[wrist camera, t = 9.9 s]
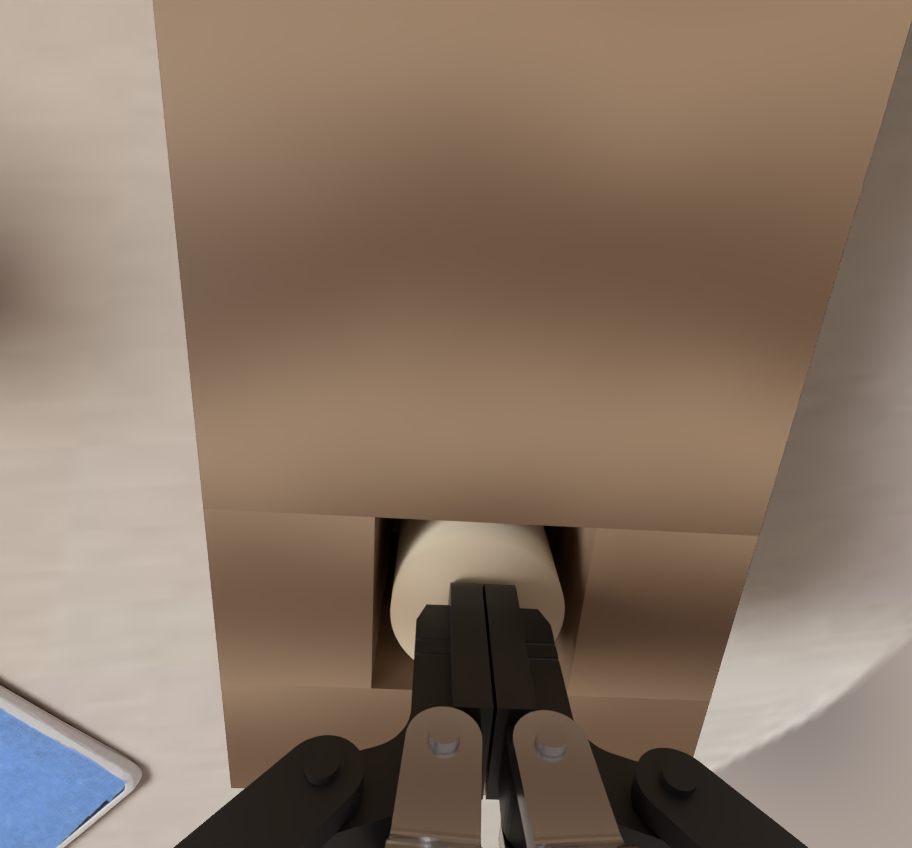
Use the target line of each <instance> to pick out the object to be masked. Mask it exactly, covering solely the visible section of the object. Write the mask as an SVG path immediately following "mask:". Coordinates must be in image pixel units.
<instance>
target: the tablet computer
mask: <svg viewBox="0 0 912 848" xmlns="http://www.w3.org/2000/svg"><path fill="white" fill-rule="evenodd" d="M142 775H143V773H142V770H141V768H140V767H139V766H138V764H136V763H135V762H134V761H133V760H131V759H129V758H128V757H126V756H124V755H123V754H121V753H119V752H117V751H116V750H114V749H112V748H110V747H108V746H107V745H105V744H103V743H101V742H99V741H97V740H96V739H94V738H92V737H90V736H88V735H87V734H85V733H83V732H81V731H79V730H77V729H76V728H74V727H72V726H70V725H68V724H67V723H65V722H63V721H61V720H60V719H58V718H56V717H54V716H53V715H51V714H49V713H47V712H46V711H44V710H42V709H41V708H39V707H37V706H35V705H34V704H32V703H30V702H29V701H27V700H25V699H23V698H22V697H20V696H18V695H17V694H15V693H13V692H11V691H10V690H8V689H6V688H4V687H3V686H1V685H0V848H64V847H65V846H67V845H68V844H69V843H70V842H71V841H73V840H74V839H75V838H76V837H78V836H79V835H80V834H81V833H83V832H84V831H85V830H86V829H87V828H88V827H90V826H91V825H92V824H93V823H95V822H96V821H97V820H98V819H99V818H100V817H102V816H103V815H104V814H105V813H107V812H108V811H109V810H110V809H111V808H112V807H114V806H115V805H116V804H117V803H118V802H120V801H121V800H122V799H123V798H125V797H126V796H127V795H128V794H129V793H130V792H132V791H133V790H134V789H135V787H136V785H137V784H138V783H139V781H140V780H141V778H142Z"/></svg>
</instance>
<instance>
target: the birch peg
mask: <svg viewBox="0 0 912 848" xmlns="http://www.w3.org/2000/svg"><path fill="white" fill-rule="evenodd" d="M450 582H452V583H474V584H482V589H483V584H500V585H515V586H516V590H517V595H518V601H519V607H520V608H528V609H538V610H539V611H540V612H541V613H542V615H543V616H544V617H545V618H546V620H547V621H548V622H549V623H550V625H551V628H552V632H553V636H554V641H555V640H556V638H557V636H558V634H559V632H560V630H561V627H562V624H563V620H564V612H565V604H564V597H563V593H562V589H561V585H560V582H559V578H558V575H557V571H556V568H555V564H554V560H553V557H552V553H551V550H550V546H549V543H548V539H547V536H546V532H545V529H544V525H524V524H504V523H483V522H462V521H442V520H421V519H401V525H400V533H399V541H398V549H397V558H396V566H395V574H394V583H393V591H392V599H391V608H390V616H391V623H392V628H393V631H394V634H395V636H396V638H397V640H398V642H399V644H400V645H401V647H402V648H403V649H404V650H405V652H406V653H407V654H408V655H409V656H410V657H411V658H412V659H413V660H414V651H415V634H416V619H417V618H418V616H419V615H420V613H421V612H422V610H423V609H424V607H425V606H426V604H431V605H448V601H449V588H450Z"/></svg>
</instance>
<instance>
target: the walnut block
mask: <svg viewBox="0 0 912 848" xmlns="http://www.w3.org/2000/svg"><path fill="white" fill-rule="evenodd" d="M153 8H154V18H155V28H156V39H157V49H158V59H159V69H160V79H161V89H162V99H163V109H164V119H165V129H166V139H167V149H168V159H169V169H170V179H171V189H172V199H173V209H174V219H175V229H176V239H177V249H178V259H179V269H180V279H181V289H182V299H183V309H184V319H185V329H186V339H187V349H188V359H189V369H190V379H191V389H192V399H193V409H194V419H195V429H196V440H197V450H198V460H199V470H200V480H201V490H202V500H203V510H204V520H205V530H206V540H207V550H208V560H209V570H210V580H211V590H212V600H213V610H214V620H215V630H216V640H217V650H218V660H219V670H220V680H221V690H222V700H223V710H224V720H225V730H226V740H227V750H228V760H229V770H230V780H231V788H246V787H247V786H249V785H250V784H251V783H252V782H253V781H255V780H256V779H257V778H258V777H259V776H261V775H262V774H263V773H264V772H266V771H267V770H268V769H269V768H270V767H272V766H273V765H274V764H275V763H276V762H278V761H279V760H280V759H281V758H282V757H284V756H285V755H286V754H287V753H288V752H290V751H291V750H292V749H293V748H294V747H296V746H297V745H299V744H300V743H301V742H303V741H305V740H307V739H310V738H313V737H316V736H321V735H335V736H339V737H342V738H345V739H347V740H349V741H350V742H352V743H353V744H354V745H355V746H356V747H357V748H358V749H359V751H360V750H364V749H367V748H371V747H375V746H378V745H381V744H384V743H386V742H388V741H390V740H391V739H393V738H394V737H396V736H397V735H398V734H399V733H400V732H401V731H402V730H403V729H404V727H405V726H406V724H407V722H408V720H409V717H410V713H411V702H412V685H413V668H414V660H413V659H412V658H411V657H410V656H409V655H408V654H407V653H406V652H405V650H404V649H403V648H402V647H401V645H400V644H399V642H398V640H397V638H396V636H395V634H394V631H393V628H392V623H391V616H390V608H391V599H392V591H393V583H394V574H395V566H396V558H397V549H398V541H399V533H400V525H401V519H421V520H442V521H462V522H483V523H504V524H524V525H544V529H545V532H546V536H547V539H548V543H549V546H550V550H551V553H552V557H553V560H554V564H555V568H556V571H557V575H558V578H559V582H560V585H561V589H562V593H563V597H564V604H565V612H564V620H563V624H562V627H561V630H560V632H559V634H558V636H557V638H556V640H555V646H556V649H557V653H558V657H559V658H558V661H559V662H560V666H561V670H562V674H563V678H564V683H565V687H566V691H567V695H568V699H569V704H570V708H571V712H572V716H573V719H574V721H575V722H576V723H577V724H578V725H579V726H580V727H581V728H582V730H583V731H584V733H585V734H586V736H587V739H588V740H589V741H591V742H592V743H593V744H595V745H596V746H598V747H599V748H601V749H603V750H605V751H607V752H610V753H613V754H616V755H619V756H622V757H625V758H628V759H631V760H634V761H637V762H638V761H639V759H640V757H641V756H642V755H643V754H644V753H646V752H647V751H649V750H651V749H655V748H672V749H676V750H679V751H682V752H684V753H686V754H688V755H690V756H692V757H693V756H694V753H695V749H696V746H697V742H698V739H699V736H700V732H701V729H702V726H703V722H704V719H705V716H706V712H707V709H708V705H709V702H710V699H711V695H712V692H713V689H714V685H715V682H716V678H717V675H718V672H719V668H720V665H721V662H722V658H723V655H724V651H725V648H726V645H727V641H728V638H729V635H730V631H731V628H732V625H733V621H734V618H735V614H736V611H737V608H738V604H739V601H740V598H741V594H742V591H743V587H744V584H745V581H746V577H747V574H748V571H749V567H750V564H751V561H752V557H753V554H754V550H755V547H756V544H757V540H758V537H759V534H760V530H761V527H762V523H763V520H764V517H765V513H766V510H767V507H768V503H769V500H770V497H771V493H772V490H773V486H774V483H775V480H776V476H777V473H778V470H779V466H780V463H781V459H782V456H783V453H784V449H785V446H786V443H787V439H788V436H789V433H790V429H791V426H792V422H793V419H794V416H795V412H796V409H797V406H798V402H799V399H800V395H801V392H802V389H803V385H804V382H805V379H806V375H807V372H808V368H809V365H810V362H811V358H812V355H813V352H814V348H815V345H816V342H817V338H818V335H819V331H820V328H821V325H822V321H823V318H824V315H825V311H826V308H827V304H828V301H829V298H830V294H831V291H832V288H833V284H834V281H835V278H836V274H837V271H838V267H839V264H840V261H841V257H842V254H843V251H844V247H845V244H846V240H847V237H848V234H849V230H850V227H851V224H852V220H853V217H854V214H855V210H856V207H857V203H858V200H859V197H860V193H861V190H862V187H863V183H864V180H865V176H866V173H867V170H868V166H869V163H870V160H871V156H872V153H873V150H874V146H875V143H876V139H877V136H878V133H879V129H880V126H881V123H882V119H883V116H884V112H885V109H886V106H887V102H888V99H889V96H890V92H891V89H892V85H893V82H894V79H895V75H896V72H897V69H898V65H899V62H900V59H901V55H902V52H903V48H904V45H905V42H906V38H907V35H908V32H909V28H910V25H911V21H912V0H153ZM483 795H486V792H485V783H484V792H483Z"/></svg>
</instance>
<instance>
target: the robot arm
mask: <svg viewBox="0 0 912 848" xmlns="http://www.w3.org/2000/svg"><path fill="white" fill-rule="evenodd" d="M558 658H559V657H558V653H557V649H556V646H555V641H554V636H553V632H552V628H551V625H550V623H549V622H548V621H547V620H546V618H545V617H544V616H543V615H542V613H541V612H540V611H539V610H538V609H528V608H520V607H519V601H518V595H517V590H516V586H515V585H500V584H483V589H482V584H474V583H452V582H450V588H449V601H448V605H431V604H426V606H425V607H424V609H423V610H422V612H421V613H420V615H419V616H418V618H417V619H416V634H415V651H414V668H413V685H412V702H411V713H410V717H409V720H408V722H407V724H406V726H405V727H404V729H403V730H402V731H401V732H400V733H399V734H398V735H397V736H396V737H394V738H393V739H391V740H390V741H388V742H386V743H384V744H381V745H378V746H375V747H371V748H367V749H364V750H360V751H359V749H358V748H357V747H356V746H355V745H354V744H353V743H352V742H350V741H349V740H347V739H345V738H342V737H339V736H335V735H321V736H316V737H313V738H310V739H307V740H305V741H303V742H301V743H300V744H299V745H297V746H296V747H294V748H293V749H292V750H291V751H290V752H288V753H287V754H286V755H285V756H284V757H282V758H281V759H280V760H279V761H278V762H276V763H275V764H274V765H273V766H272V767H270V768H269V769H268V770H267V771H266V772H264V773H263V774H262V775H261V776H259V777H258V778H257V779H256V780H255V781H253V782H252V783H251V784H250V785H249V786H247V787H246V788H245V789H244V790H243V791H241V792H240V793H239V794H238V795H237V796H235V797H234V798H233V799H232V800H231V801H229V802H228V803H227V804H226V805H224V806H223V807H222V808H221V809H220V810H218V811H217V812H216V813H215V814H214V815H212V816H211V817H210V818H209V819H208V820H206V821H205V822H204V823H203V824H202V825H200V826H199V827H198V828H197V829H196V830H194V831H193V832H192V833H191V834H190V835H188V836H187V837H186V838H185V839H183V840H182V841H181V842H180V843H179V844H177V845H176V846H175V847H174V848H482V847H481V799H483V792H484V783H485V792H486V799H496V800H499V801H500V812H501V823H500V830H499V838H498V839H499V848H808V847H807V846H805V845H804V844H803V843H802V842H800V841H799V840H798V839H797V838H795V837H794V836H793V835H792V834H790V833H789V832H788V831H786V830H785V829H784V828H782V827H781V826H780V825H779V824H778V823H776V822H775V821H774V820H773V819H771V818H770V817H769V816H767V815H766V814H765V813H764V812H762V811H761V810H760V809H758V808H757V807H756V806H755V805H754V804H752V803H751V802H750V801H749V800H747V799H746V798H745V797H743V796H742V795H741V794H740V793H738V792H737V791H736V790H734V789H733V788H732V787H730V785H728V784H727V783H726V782H724V781H723V780H722V779H721V778H719V777H718V776H717V775H716V774H714V773H713V772H712V771H711V770H709V769H708V768H707V767H705V766H704V765H703V764H702V763H700V762H699V761H698V760H696V759H695V758H693V757H692V756H690V755H688V754H686V753H684V752H682V751H679V750H676V749H672V748H655V749H651V750H649V751H647V752H646V753H644V754H643V755H642V756H641V757H640V759H639V761H638V762H637V761H634V760H631V759H628V758H625V757H622V756H619V755H616V754H613V753H610V752H607V751H605V750H603V749H601V748H599V747H598V746H596V745H595V744H593V743H592V742H591V741H589V740H588V739H587V736H586V734H585V733H584V731H583V730H582V728H581V727H580V726H579V725H578V724H577V723H576V722H575V721H574V719H573V716H572V712H571V708H570V704H569V699H568V695H567V691H566V687H565V683H564V678H563V674H562V670H561V666H560V662H559V661H558Z"/></svg>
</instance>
